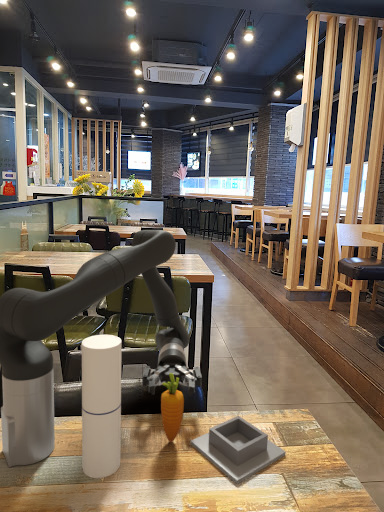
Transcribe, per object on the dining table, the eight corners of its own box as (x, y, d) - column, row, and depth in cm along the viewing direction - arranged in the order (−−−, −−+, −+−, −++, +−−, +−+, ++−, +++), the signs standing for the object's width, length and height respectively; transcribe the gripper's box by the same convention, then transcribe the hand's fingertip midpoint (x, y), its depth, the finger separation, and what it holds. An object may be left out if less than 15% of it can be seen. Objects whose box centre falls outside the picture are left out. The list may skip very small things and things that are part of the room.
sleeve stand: (236, 484, 68) (238, 464, 67) (190, 444, 79) (191, 426, 78) (285, 455, 76) (286, 437, 76) (237, 422, 87) (238, 406, 87)
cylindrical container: (86, 482, 67) (86, 351, 63) (79, 458, 73) (78, 337, 70) (124, 470, 70) (126, 345, 67) (114, 448, 76) (115, 332, 73)
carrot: (179, 451, 76) (182, 383, 74) (156, 447, 77) (158, 379, 75) (184, 436, 81) (187, 372, 79) (163, 433, 82) (164, 369, 80)
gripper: (145, 347, 99) (140, 375, 83) (198, 348, 100) (203, 376, 84) (145, 373, 100) (140, 406, 84) (197, 374, 101) (202, 406, 85)
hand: (171, 391), depth 84 cm, fingers open, 8 cm apart
